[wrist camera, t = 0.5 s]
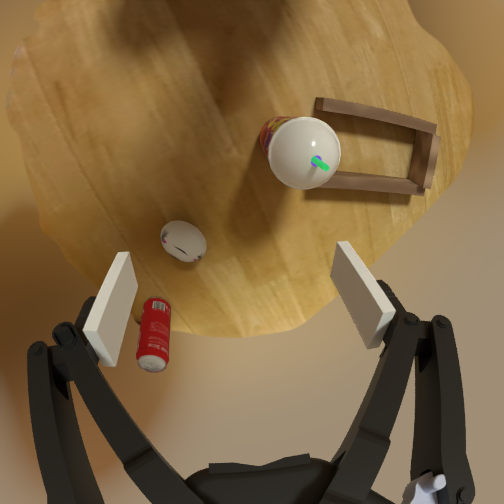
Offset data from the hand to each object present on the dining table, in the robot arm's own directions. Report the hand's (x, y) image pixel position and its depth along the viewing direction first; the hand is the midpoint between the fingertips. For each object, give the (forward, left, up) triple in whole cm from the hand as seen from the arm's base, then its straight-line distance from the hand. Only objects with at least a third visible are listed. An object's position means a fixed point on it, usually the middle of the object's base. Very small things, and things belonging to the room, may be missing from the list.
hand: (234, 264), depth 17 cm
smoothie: (-4, +8, -29) cm, 30 cm away
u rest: (-4, +25, -29) cm, 38 cm away
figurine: (+12, -7, -29) cm, 32 cm away
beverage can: (+29, -14, -29) cm, 43 cm away
